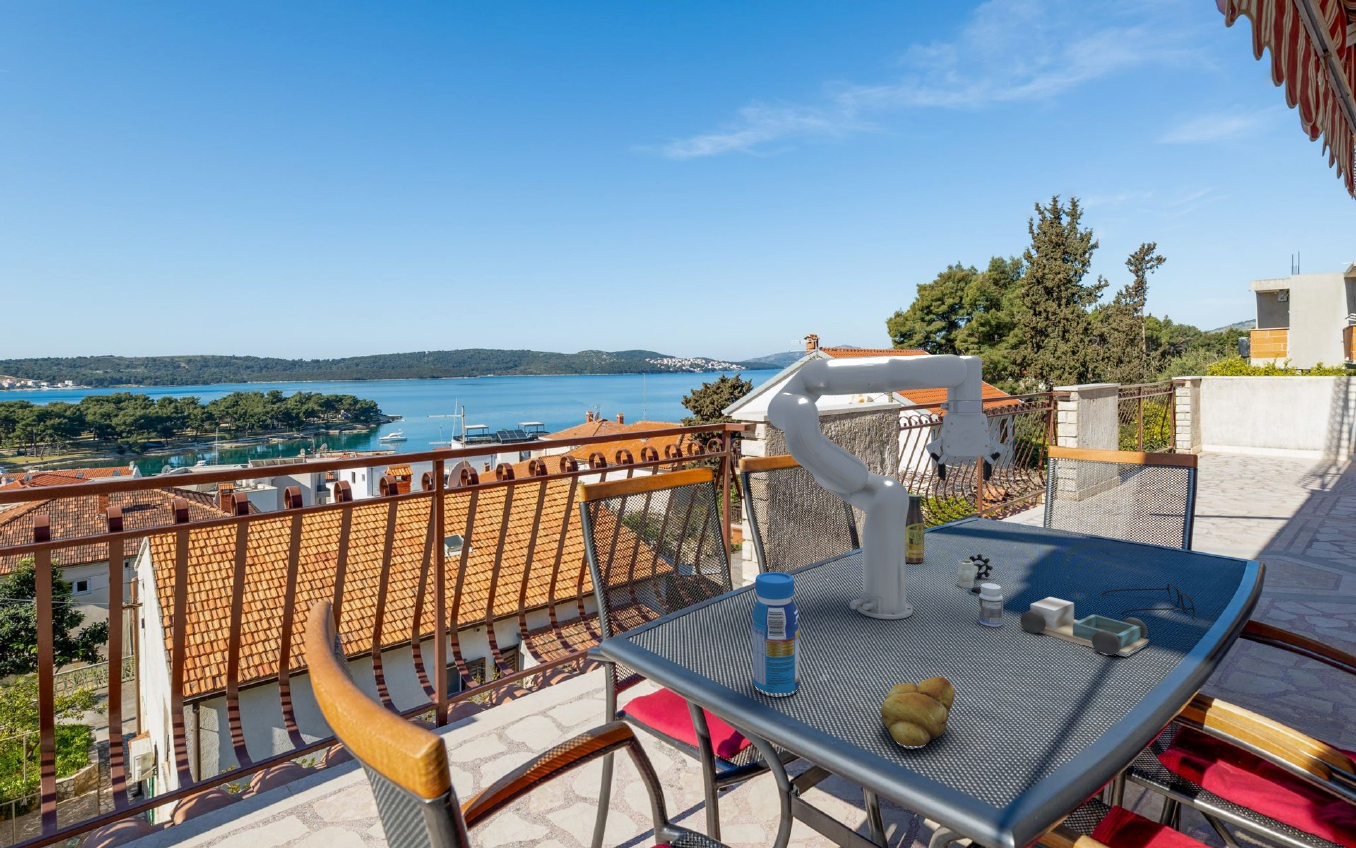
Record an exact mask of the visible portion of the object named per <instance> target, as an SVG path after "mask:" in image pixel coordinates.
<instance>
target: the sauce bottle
mask: <svg viewBox="0 0 1356 848" xmlns="http://www.w3.org/2000/svg"><path fill="white" fill-rule="evenodd" d="M908 495H909V508H908V513H907V519H906V528H905V563H909V564H920V563H923V562H924V558H925V528H926V527H925V526H926V525H925V524H926V523H925V521H924V520H925V519H924V517H923V514H922V509H921V502H922V495H920V494H915V493H913V494H912V493H908Z"/></svg>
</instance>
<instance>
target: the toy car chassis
mask: <svg viewBox="0 0 1356 848" xmlns="http://www.w3.org/2000/svg"><path fill="white" fill-rule="evenodd" d="M1020 627H1021V628H1023V629H1024V630H1025V631H1027V632H1028V633H1030V634H1037V633H1040V634H1043V635H1047V636H1049V637H1053V638H1056V639H1060V640H1064V641H1066V642H1069V643H1073V642H1074V643H1073V644H1076V643H1077V645H1079V644H1080V645H1079V646H1082V645H1086V646H1089V647H1094V648H1095V649H1094V650H1095V651H1096V652H1097V653H1099V652H1103V653H1106V654H1111V656H1115V655H1114V654H1116V653H1119V654H1125V655H1126V654H1128V653H1129V652H1132V651H1134V650H1136V649H1137V648H1139V647H1141V646H1143V645H1145V644H1147V643H1148V642H1149V643H1150V639H1148V638H1146V637H1147V636H1148V633H1149V632H1148V631H1149V630H1148V627H1147V625H1146V623H1144V621H1142V620H1141V619H1140V618H1137V617H1133V616H1132V617H1128V618H1125V619H1123V620H1117V619H1112V618H1109V617H1105V616H1103V615H1102V616H1101V615H1099V614H1091V615H1088V616H1086V617H1085V618H1082V619H1079V620H1078V619H1075V602H1072V601H1069V600H1066V599H1062V598H1057V597H1053V596H1048V597H1045V598H1044V599H1043V598H1042V599H1040V600H1038V601H1035V602H1032V603H1030V610H1027V611H1025V612H1024V613H1022V614H1021V617H1020ZM1086 646H1085V647H1086ZM1089 647H1088V648H1089Z"/></svg>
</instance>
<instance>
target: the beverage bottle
mask: <svg viewBox="0 0 1356 848" xmlns="http://www.w3.org/2000/svg"><path fill="white" fill-rule="evenodd" d="M754 582H755V583H754V584H755V595H756V597H757V598H758V599H757V600H756V602H755V603H754V605H753V608H752V611H751V617H752V619H753V622H752V624H751V629H750V630H751V631H750V632H751V636H752V637H751V639H752V669H753V670H752V671H753V673H752V674H753V678H752V679H753V680H752V684H753V683H754V685H755V686H756V687H757V688H759V689H761V690H763V691H766V692H770V693H790V692H792V691H796V690H797V689H798V688H799V686H800V687H801V684H800V683H801V680H800V636H801V635H800V634H801V630H800V629H801V628H800V625H799V623H798V620H799V618H800V614H799V611H798V608H797V606H796V604H795V602H794V600H793V597H794V595H795V579H794V576H793V575H791V574H789V573H786V572H781V571H780V572H779V571H769V572H768V571H767V572H761V573H759V574H757V575H756V576H755V581H754ZM754 685H753V686H754ZM799 689H800V688H799Z"/></svg>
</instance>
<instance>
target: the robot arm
mask: <svg viewBox="0 0 1356 848" xmlns="http://www.w3.org/2000/svg"><path fill="white" fill-rule="evenodd" d="M982 381H983V361H982V359H981V357H980V356H978V355H956V354H952V353H949V354H947V353H946V354H945V353H944V354H931V355H930V354H929V355H928V354H927V355H924V354H923V355H870V356H865V355H864V356H844V357H843V356H841V357H828V358H819V359H818V358H817V359H814V360H811V361H808V362H807V363H806V364H804V365H803V367H801V368H800V369H799V370H798V371H797V372H796V373H795V374H794V375H793V376H792V378H790V380H789V381H788V382H787V383H786V384H784V386H783V387H781V388H780V390H778V392H777V393H776V394H775V395H774V396H773V397H772V399H771V400H770V401H769V404H768V406H767V419H768V420H769V422H770V424H771V425H772V426H774V427H775V428H776V429H778V430H781V431H783V432H784V433H783V434H784V441H785V445H786V448H787V451H788V453H789V455H790V456H791V458H792V459H793V460H794V461H795V462H796V463H797V464H798V465H800V466H801V467H803V468H804V469H805V470H807V471H809V473H811V474H812V477H813V479H814V481H815V482H816V483H817V484H818V485H819V486H820V487H822V488H823V489H825V490H826V491H828V492H830V493H831V494H833V495H834V496H835V497H837V498H839V499H841V500H842V501H844V502H845V503H847V504H849V505H850V506H852V507H854V508H855V509H857V510H860V511H862V512H866V516H865V519H864V523H863V525H862V526H863V527H862V535H861V536H862V537H861V538H862V541H861V542H862V544H861V545H862V591H861V592H859V593H860V595H859V596H860V597H858V599H853V600H851V601H850V602H849V606H850V607H849V608H850V609H852V610H857V611H858V612H859V613H860V614H862V615H864V616H867V617H869V618H873V619H879V620H901V619H906V618H908V617H910V616H912V615H913V612H914V610H913V609H914V608H913V606H912V605H911V603H909V602H907V601H906V600H907V599H906V597H907V596H906V595H907V594H906V593H907V592H906V585H907V583H906V562H905V528H906V519H907V513H908V508H909V495H908V494H909V493H908V492H909V491H908V490H907V488H906V487H905V485H904V484H903V483H902V482H900V481H899V480H897V479H895V478H893V477H892V476H891V477H890V476H886V475H884V474H878V473H874V472H872V471H869V470H868V467H867V465H866V464H865V463H864V461H862V459H861V458H859V457H858V456H857V455H855V454H853V453H851V452H849V451H847V450H846V449H845V448H843V447H841V446H840V445H838V444H836V443H835V442H833V441H832V440H831V439H829V438H828V437H826V435H824V433H823V432H822V430H821V427H820V421H819V419H820V415H819V410H818V406H817V404H816V402H818V400H819V399H820V398H821V397H823V396H845V395H848V396H849V395H850V396H851V395H863V394H883V393H896V392H904V391H914V390H931V389H932V390H933V389H946V401H945V402H944V403H940V410H945V411H946V413H945V414H943V420H942V426H941V435H940V436H941V437H940V438H938V439H936V440H933V441H932V442H930V443H927V444H925V449H926V451H927V452H928V454H929V456H930V457H931V458H932V460H934V462H936V464H937V477H938V478H940V481H942V482H945V481H946V480H947V474H946V473H947V471H946V470H947V465H946V464H945V461H946V460H947V459H948V458H949V457H950V458H951V457H953V458H955V457H957V458H958V457H959V458H963V457H965V458H968V457H969V458H971V457H981V458H982V460H983V461H984V462H983V463H982V479H983V480H985V481H986V482H990V481H991V478H992V477H993V464H994V463H995V461H997V460H998V459H999V458H1000V457H1001V454H1002V453H1003V451H1004V449H1005V444H1003V443H1000V442H998V441H996V440H994V439H992V438H990V433H989V431H990V430H989V424H988V419H987V418H988V417H987V414H986V413H983V382H982ZM939 446H940V451H941V453H940V454H939V455H938V454H937V453H936V452H935V450H934V449H935V448H936V447H939ZM990 446H993V447H994V448H995V449H994V452H993V453H991V454H990V452H991V451H990V450H991V447H990Z"/></svg>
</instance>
